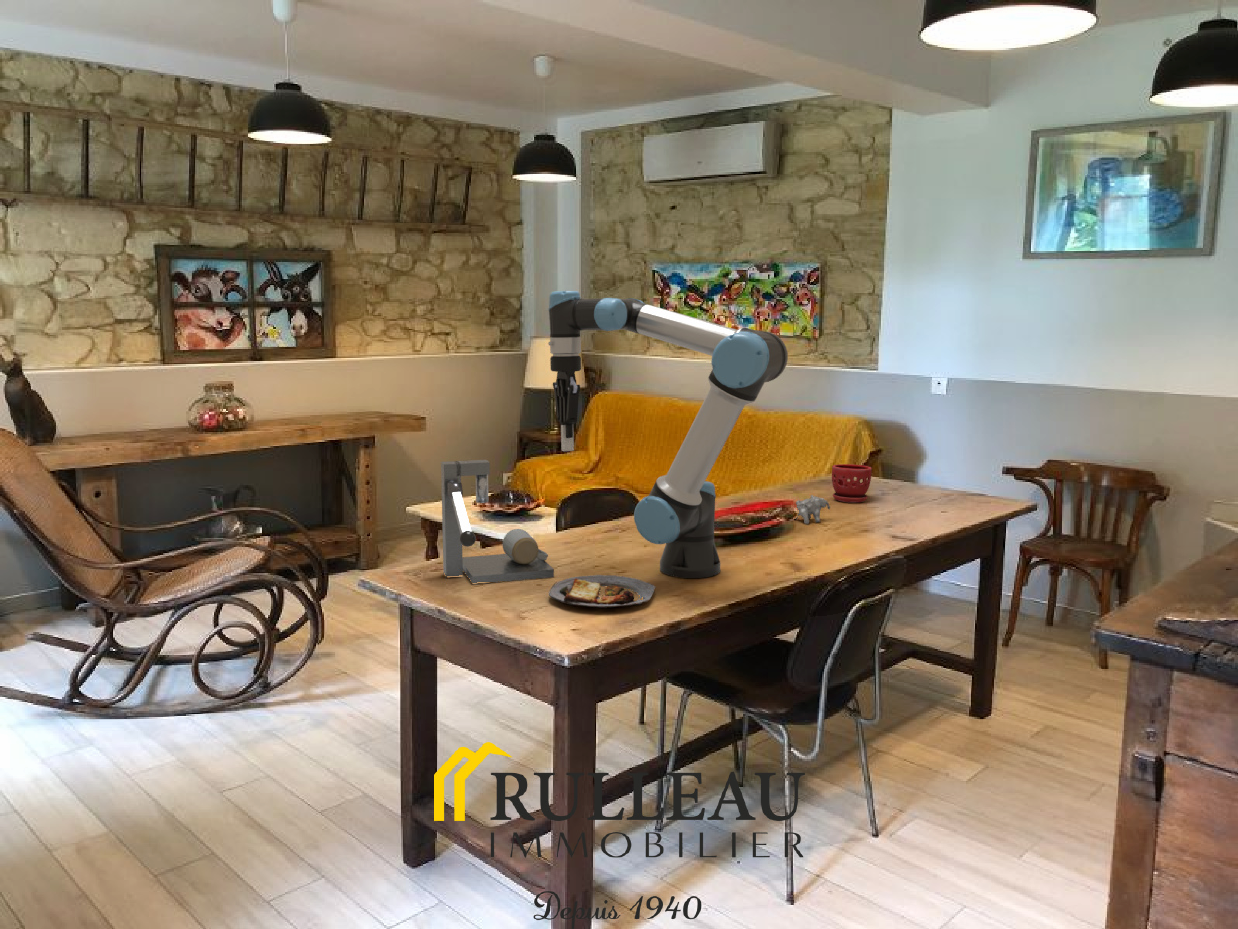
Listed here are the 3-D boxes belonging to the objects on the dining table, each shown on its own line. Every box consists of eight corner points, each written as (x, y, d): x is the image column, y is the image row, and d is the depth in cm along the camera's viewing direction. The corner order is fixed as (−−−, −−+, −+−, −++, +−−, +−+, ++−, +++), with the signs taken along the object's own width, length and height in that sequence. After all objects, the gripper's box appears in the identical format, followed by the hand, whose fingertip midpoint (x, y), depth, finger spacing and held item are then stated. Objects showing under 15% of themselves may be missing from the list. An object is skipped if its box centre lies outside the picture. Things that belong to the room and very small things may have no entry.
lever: (476, 550, 217) (477, 536, 214) (460, 551, 216) (461, 537, 213) (460, 491, 232) (461, 478, 230) (445, 492, 231) (446, 479, 229)
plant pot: (874, 504, 324) (876, 469, 322) (834, 504, 325) (836, 469, 323) (865, 496, 337) (866, 462, 335) (827, 496, 337) (828, 462, 336)
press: (553, 577, 236) (553, 463, 231) (451, 586, 228) (449, 469, 223) (534, 558, 253) (534, 452, 248) (438, 567, 244) (436, 457, 240)
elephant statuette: (787, 522, 299) (788, 497, 298) (810, 514, 307) (811, 490, 306) (812, 527, 293) (812, 503, 291) (835, 519, 301) (835, 495, 299)
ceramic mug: (512, 567, 237) (512, 536, 236) (501, 559, 244) (502, 529, 243) (552, 563, 241) (553, 533, 240) (541, 555, 249) (541, 526, 247)
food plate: (645, 617, 206) (645, 601, 206) (539, 612, 210) (538, 596, 210) (659, 587, 231) (659, 573, 230) (564, 583, 235) (564, 568, 234)
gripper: (542, 354, 241) (544, 448, 245) (560, 356, 229) (562, 454, 233) (570, 353, 244) (572, 446, 248) (589, 355, 232) (591, 452, 236)
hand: (567, 450), depth 240 cm, fingers closed
